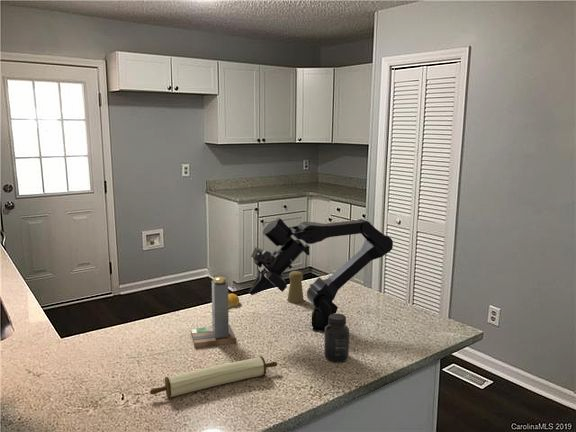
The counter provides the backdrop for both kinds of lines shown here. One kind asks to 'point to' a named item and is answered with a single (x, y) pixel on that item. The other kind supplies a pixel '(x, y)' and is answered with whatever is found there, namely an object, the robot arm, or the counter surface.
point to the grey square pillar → (220, 307)
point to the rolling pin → (213, 376)
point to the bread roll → (232, 300)
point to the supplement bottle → (336, 339)
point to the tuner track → (210, 337)
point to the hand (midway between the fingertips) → (250, 293)
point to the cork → (295, 287)
